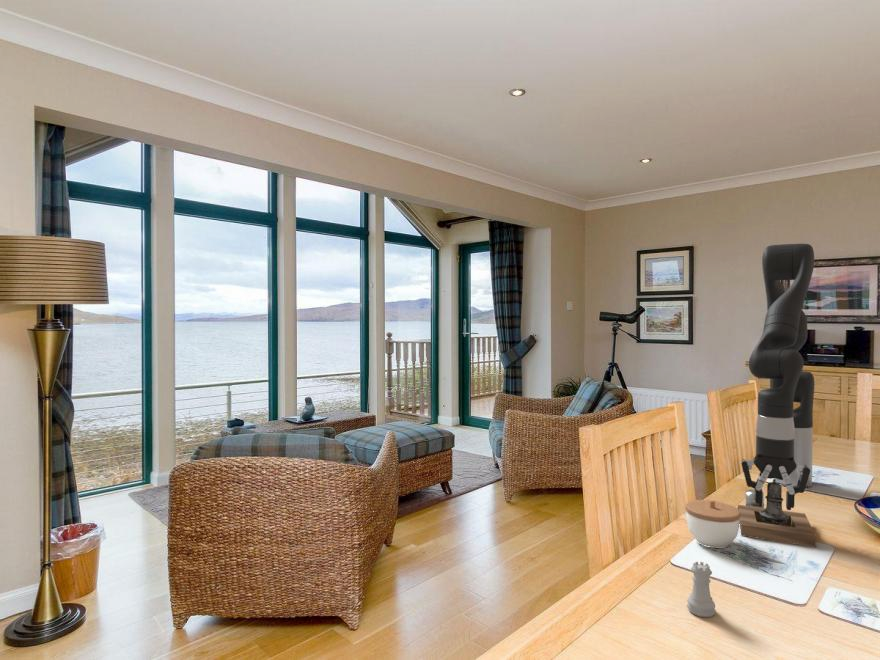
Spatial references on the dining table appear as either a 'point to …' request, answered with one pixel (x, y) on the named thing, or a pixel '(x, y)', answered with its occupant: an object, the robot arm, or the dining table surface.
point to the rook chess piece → (701, 592)
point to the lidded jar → (712, 522)
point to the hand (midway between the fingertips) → (774, 506)
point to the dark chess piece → (774, 505)
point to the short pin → (752, 498)
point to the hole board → (776, 527)
